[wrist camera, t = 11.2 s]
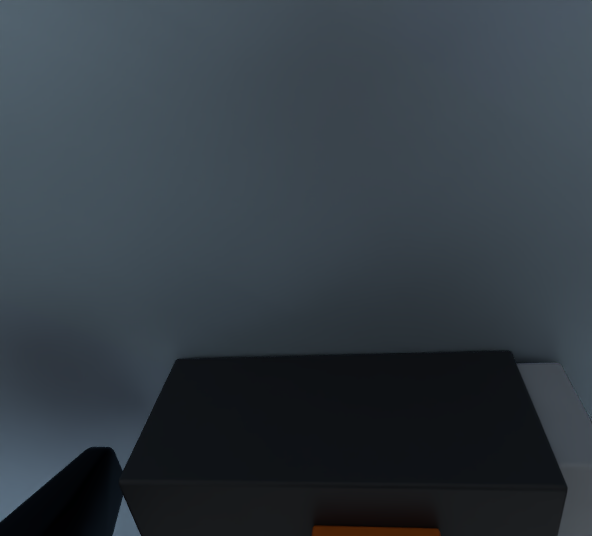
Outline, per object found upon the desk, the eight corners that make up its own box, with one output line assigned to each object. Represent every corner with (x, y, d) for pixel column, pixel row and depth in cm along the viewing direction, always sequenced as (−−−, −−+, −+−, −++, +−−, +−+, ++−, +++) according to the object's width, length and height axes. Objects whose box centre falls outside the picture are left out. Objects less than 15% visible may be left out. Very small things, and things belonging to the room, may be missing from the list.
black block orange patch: (203, 450, 11) (151, 608, 8) (175, 357, 10) (103, 507, 7) (542, 451, 10) (613, 632, 7) (560, 347, 9) (656, 519, 6)
